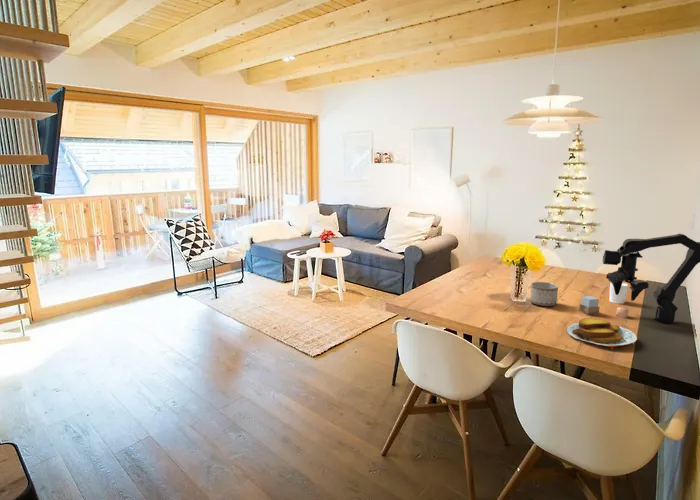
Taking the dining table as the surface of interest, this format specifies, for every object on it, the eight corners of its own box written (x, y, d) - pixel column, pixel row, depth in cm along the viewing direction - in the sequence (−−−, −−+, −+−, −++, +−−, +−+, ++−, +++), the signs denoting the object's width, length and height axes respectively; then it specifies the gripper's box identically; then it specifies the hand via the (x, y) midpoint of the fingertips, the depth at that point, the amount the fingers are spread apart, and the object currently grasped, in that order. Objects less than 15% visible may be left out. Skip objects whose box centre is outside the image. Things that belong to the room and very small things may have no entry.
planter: (524, 301, 212) (525, 283, 210) (542, 298, 217) (544, 280, 215) (543, 309, 201) (545, 289, 199) (561, 306, 205) (563, 286, 203)
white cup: (628, 304, 205) (630, 286, 203) (611, 303, 207) (614, 285, 205) (621, 299, 213) (623, 282, 211) (605, 299, 215) (607, 281, 213)
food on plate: (627, 357, 149) (629, 341, 148) (557, 338, 167) (559, 324, 166) (642, 337, 167) (644, 322, 165) (577, 322, 184) (578, 308, 183)
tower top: (597, 306, 192) (598, 299, 191) (588, 307, 191) (589, 299, 191) (590, 303, 197) (591, 295, 196) (581, 304, 196) (582, 296, 195)
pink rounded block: (630, 317, 188) (631, 309, 187) (621, 318, 187) (622, 310, 186) (622, 314, 192) (623, 306, 191) (613, 314, 192) (614, 307, 191)
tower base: (598, 314, 192) (599, 307, 192) (587, 315, 192) (588, 307, 191) (589, 310, 198) (590, 303, 198) (578, 311, 198) (579, 303, 197)
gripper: (598, 262, 193) (594, 292, 196) (629, 271, 175) (625, 305, 178) (618, 261, 194) (614, 291, 197) (651, 270, 176) (647, 303, 179)
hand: (624, 297), depth 188 cm, fingers open, 9 cm apart
